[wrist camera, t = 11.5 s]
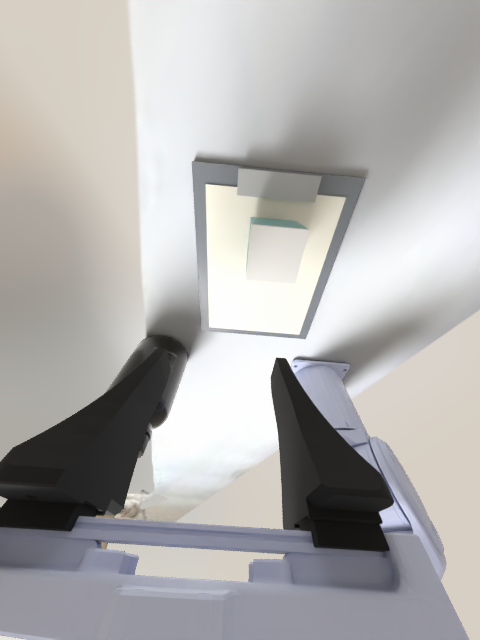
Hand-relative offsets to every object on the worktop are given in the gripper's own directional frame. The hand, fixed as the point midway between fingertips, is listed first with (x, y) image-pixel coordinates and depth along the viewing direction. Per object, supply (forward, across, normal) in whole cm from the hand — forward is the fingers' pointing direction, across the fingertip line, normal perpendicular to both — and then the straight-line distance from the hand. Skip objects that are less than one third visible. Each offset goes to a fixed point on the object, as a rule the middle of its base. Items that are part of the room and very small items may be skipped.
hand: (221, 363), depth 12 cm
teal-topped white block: (+9, -3, -6) cm, 11 cm away
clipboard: (+10, -3, -3) cm, 11 cm away
